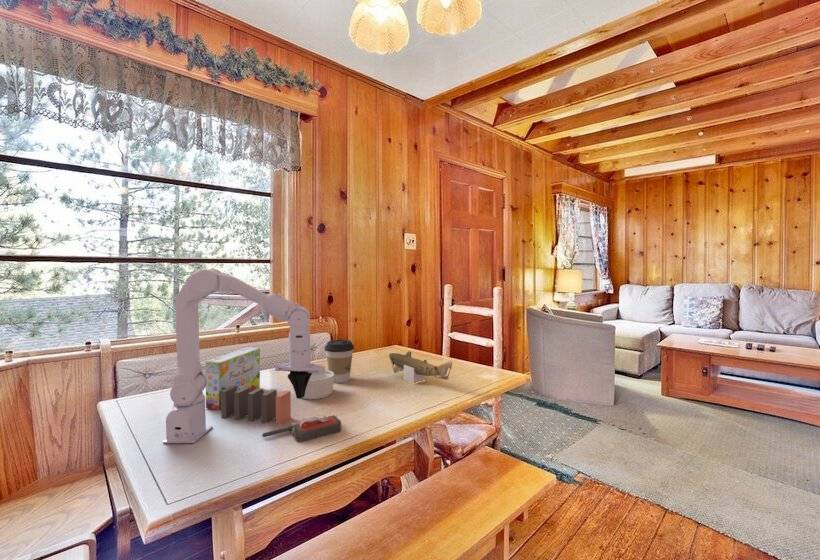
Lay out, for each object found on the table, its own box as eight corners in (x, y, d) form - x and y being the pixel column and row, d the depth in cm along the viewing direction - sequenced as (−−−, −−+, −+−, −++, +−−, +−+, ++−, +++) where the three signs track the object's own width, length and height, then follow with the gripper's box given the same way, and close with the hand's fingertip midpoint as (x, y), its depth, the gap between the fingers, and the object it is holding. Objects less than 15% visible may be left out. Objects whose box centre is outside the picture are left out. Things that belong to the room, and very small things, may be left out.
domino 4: (277, 416, 112) (276, 389, 112) (266, 423, 108) (266, 395, 107) (272, 415, 113) (271, 389, 112) (261, 422, 108) (261, 394, 108)
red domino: (290, 417, 111) (290, 390, 111) (281, 424, 107) (280, 396, 106) (285, 417, 112) (285, 390, 111) (276, 424, 107) (275, 396, 107)
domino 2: (250, 413, 115) (250, 387, 114) (239, 420, 110) (238, 392, 109) (246, 412, 115) (245, 386, 115) (234, 419, 110) (234, 392, 110)
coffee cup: (349, 386, 140) (349, 345, 139) (319, 384, 142) (319, 344, 141) (358, 376, 151) (358, 339, 150) (330, 375, 153) (330, 338, 152)
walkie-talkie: (333, 420, 110) (261, 438, 99) (333, 405, 110) (261, 422, 99) (346, 432, 103) (269, 452, 92) (346, 416, 103) (269, 434, 92)
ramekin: (314, 386, 140) (313, 367, 140) (342, 391, 134) (342, 372, 134) (286, 397, 128) (286, 376, 128) (316, 404, 122) (316, 382, 122)
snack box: (221, 410, 117) (219, 362, 116) (205, 409, 118) (203, 361, 117) (261, 388, 138) (260, 347, 137) (247, 387, 139) (246, 346, 138)
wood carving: (442, 397, 128) (442, 364, 128) (381, 373, 155) (381, 346, 155) (460, 391, 134) (460, 360, 134) (399, 369, 161) (399, 343, 160)
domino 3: (263, 414, 114) (263, 388, 113) (253, 421, 109) (252, 394, 108) (259, 414, 114) (258, 388, 114) (248, 421, 109) (247, 393, 109)
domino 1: (237, 411, 116) (237, 386, 115) (226, 418, 111) (225, 391, 110) (233, 411, 116) (232, 385, 116) (221, 417, 111) (220, 391, 111)
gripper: (329, 348, 109) (330, 394, 110) (284, 345, 112) (285, 390, 113) (318, 353, 102) (318, 403, 103) (270, 350, 106) (271, 398, 106)
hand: (300, 397), depth 107 cm, fingers closed
